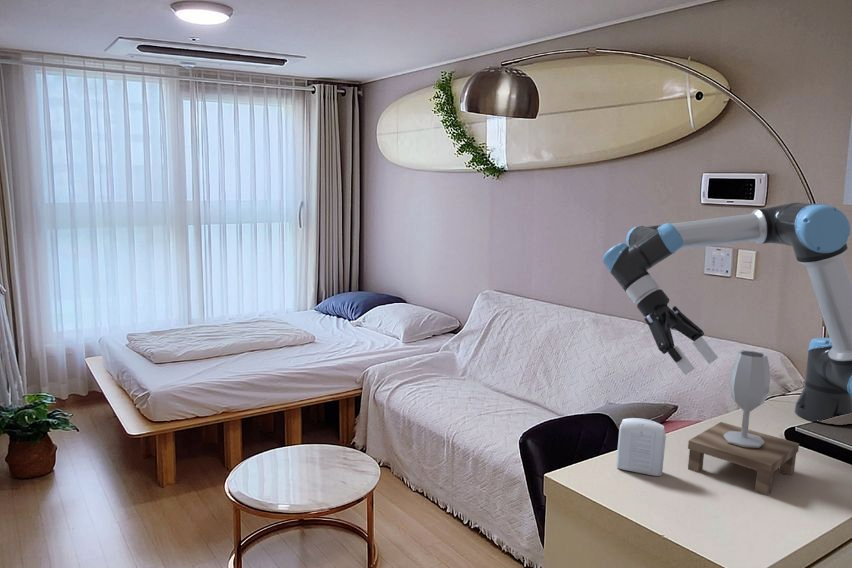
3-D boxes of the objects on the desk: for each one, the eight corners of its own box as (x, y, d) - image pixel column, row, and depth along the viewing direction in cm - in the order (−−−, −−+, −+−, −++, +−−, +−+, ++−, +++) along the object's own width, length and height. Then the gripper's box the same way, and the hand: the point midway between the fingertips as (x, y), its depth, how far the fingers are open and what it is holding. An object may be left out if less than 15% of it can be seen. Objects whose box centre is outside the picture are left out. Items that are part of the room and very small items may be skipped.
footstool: (718, 448, 168) (720, 421, 167) (795, 471, 155) (799, 443, 154) (686, 469, 156) (688, 440, 155) (767, 496, 143) (771, 465, 142)
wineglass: (721, 444, 153) (730, 355, 149) (724, 431, 160) (732, 346, 157) (764, 452, 149) (774, 361, 145) (764, 439, 156) (774, 352, 153)
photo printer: (663, 471, 155) (667, 420, 153) (661, 478, 151) (666, 426, 149) (617, 462, 158) (620, 413, 156) (615, 469, 155) (618, 418, 153)
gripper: (660, 299, 181) (711, 364, 173) (613, 312, 164) (667, 385, 156) (680, 282, 176) (734, 348, 168) (634, 293, 159) (691, 367, 151)
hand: (702, 366), depth 162 cm, fingers open, 13 cm apart
